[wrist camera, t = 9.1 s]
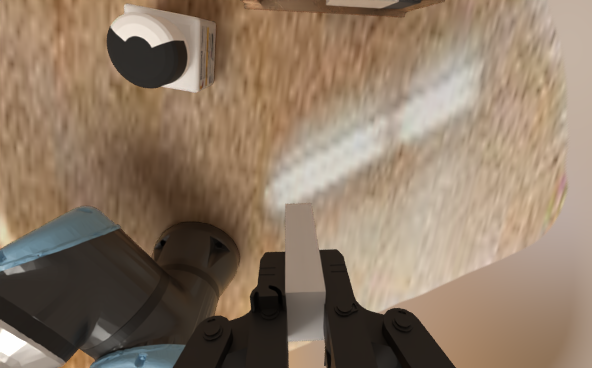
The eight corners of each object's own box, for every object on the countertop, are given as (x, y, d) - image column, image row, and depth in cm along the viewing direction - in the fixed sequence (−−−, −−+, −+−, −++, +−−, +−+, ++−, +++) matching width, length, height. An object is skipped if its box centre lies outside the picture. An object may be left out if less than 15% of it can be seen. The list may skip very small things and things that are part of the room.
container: (214, 84, 40) (181, 102, 28) (157, 74, 39) (100, 88, 27) (216, 22, 36) (181, 13, 25) (155, 9, 36) (88, -6, 24)
